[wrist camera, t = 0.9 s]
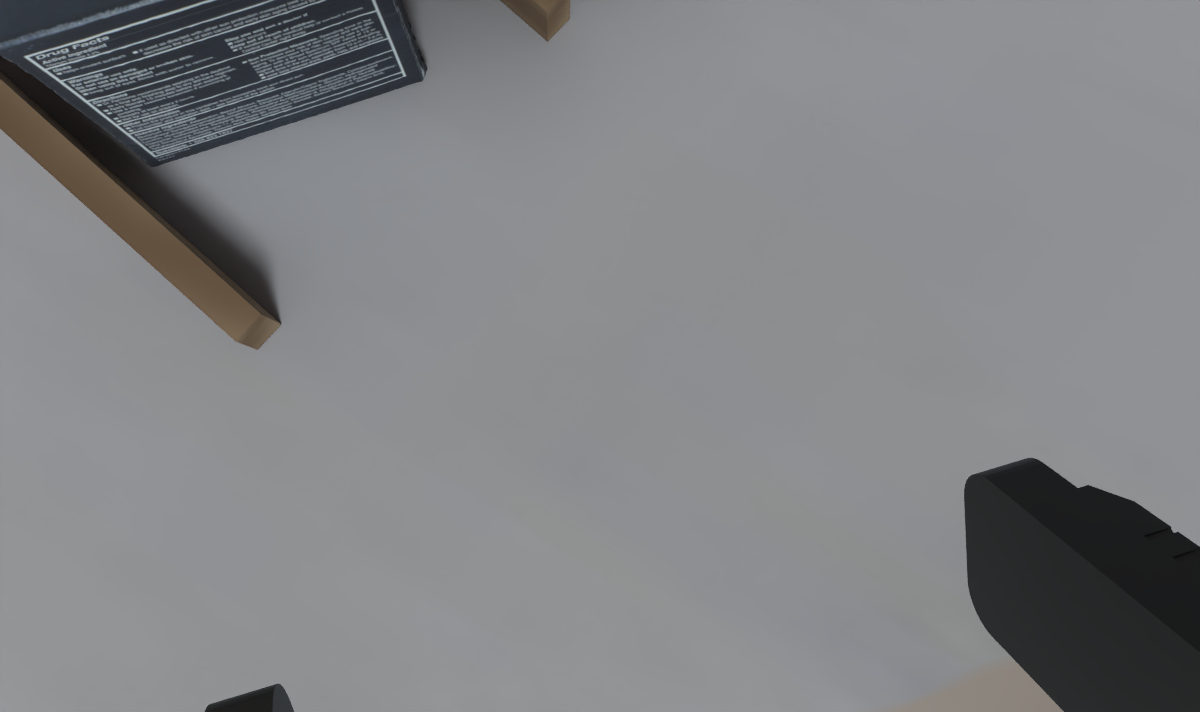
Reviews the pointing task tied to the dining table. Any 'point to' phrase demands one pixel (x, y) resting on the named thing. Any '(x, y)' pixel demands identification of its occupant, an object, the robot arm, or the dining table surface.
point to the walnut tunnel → (148, 232)
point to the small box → (208, 63)
